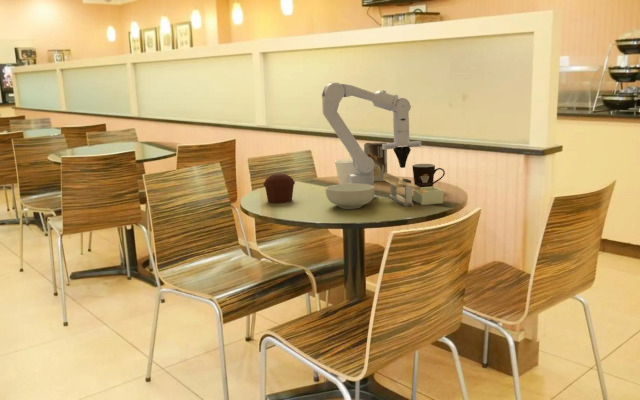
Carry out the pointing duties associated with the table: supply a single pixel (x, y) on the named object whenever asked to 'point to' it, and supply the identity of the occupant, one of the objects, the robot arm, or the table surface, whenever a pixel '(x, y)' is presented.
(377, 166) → the coffee box
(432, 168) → the coffee mug
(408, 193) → the lever stand
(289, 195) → the muffin
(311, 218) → the table surface
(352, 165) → the cup
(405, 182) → the tan flat piece
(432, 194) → the bin
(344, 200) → the cereal bowl
